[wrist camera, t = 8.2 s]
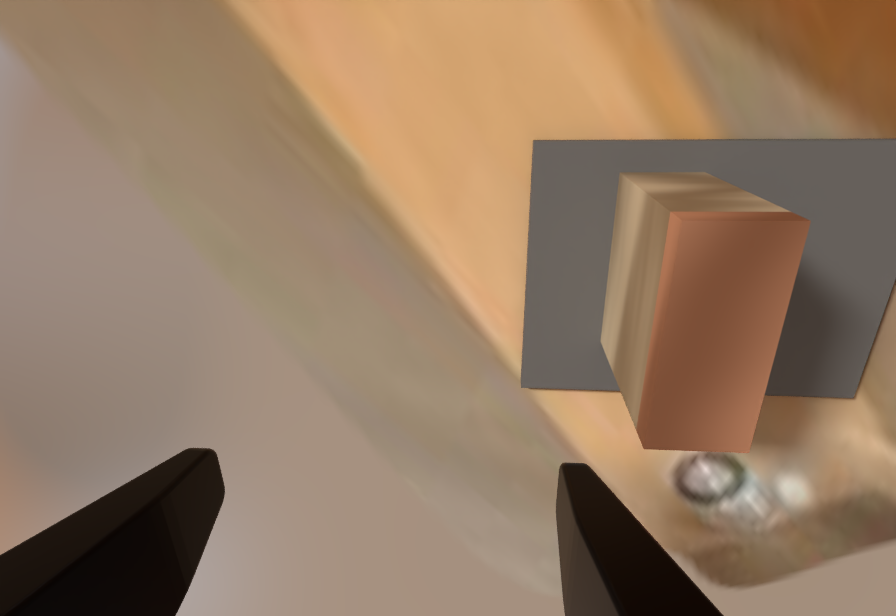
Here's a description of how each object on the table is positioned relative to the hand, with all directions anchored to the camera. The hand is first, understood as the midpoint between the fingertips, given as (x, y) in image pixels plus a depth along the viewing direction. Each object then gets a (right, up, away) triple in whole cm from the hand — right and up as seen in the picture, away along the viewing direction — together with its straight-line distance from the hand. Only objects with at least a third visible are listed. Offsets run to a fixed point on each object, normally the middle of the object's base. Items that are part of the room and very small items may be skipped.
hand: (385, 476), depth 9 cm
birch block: (+8, +4, +9) cm, 13 cm away
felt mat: (+10, +4, +10) cm, 14 cm away
